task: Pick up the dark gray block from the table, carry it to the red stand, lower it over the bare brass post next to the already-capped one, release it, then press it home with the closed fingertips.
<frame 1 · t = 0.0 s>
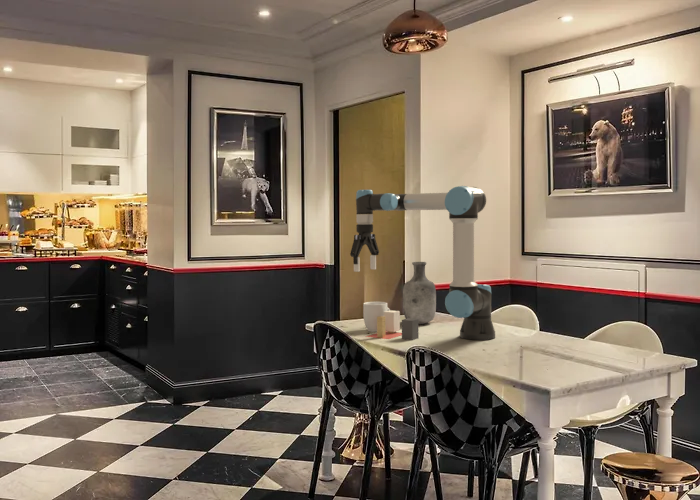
hand: (365, 270, 311), 28 cm above the table, fingers open, 13 cm apart
mug: (377, 331, 313), on the table
dark gray block: (410, 339, 291), on the table
post: (381, 337, 295), resting on stand
vase: (419, 323, 333), on the table
stand: (386, 335, 300), on the table
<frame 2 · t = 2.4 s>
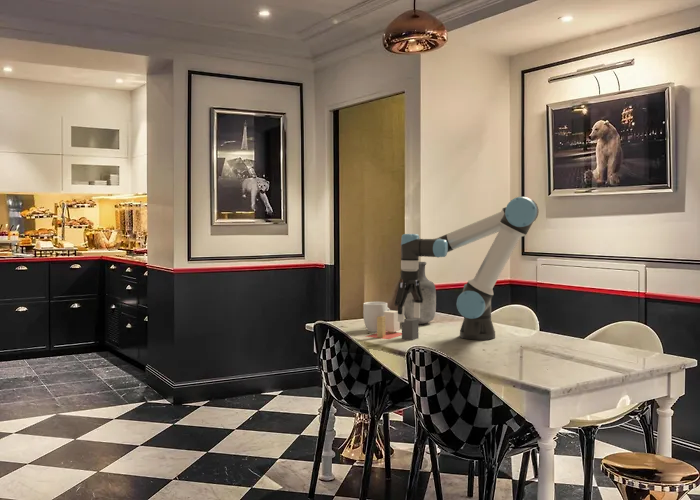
hand: (409, 319, 291), 8 cm above the table, fingers open, 13 cm apart
nothing on the table moved.
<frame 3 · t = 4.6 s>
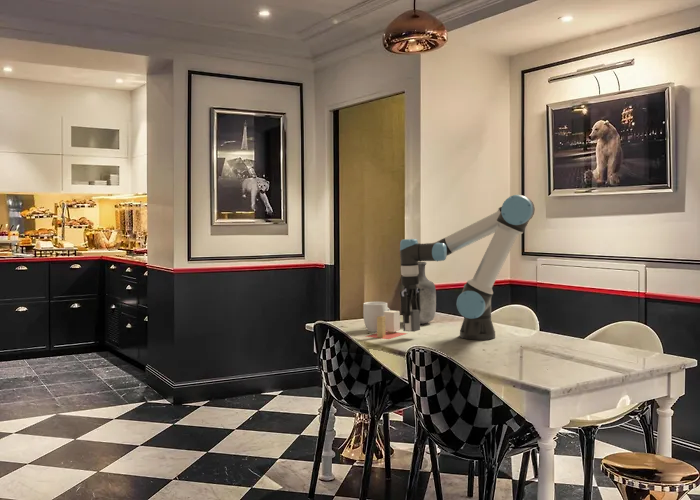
hand: (411, 329, 291), 4 cm above the table, fingers closed on dark gray block, 5 cm apart
dark gray block: (411, 330, 291), point 4 cm above the table, touching gripper
everything else where it was.
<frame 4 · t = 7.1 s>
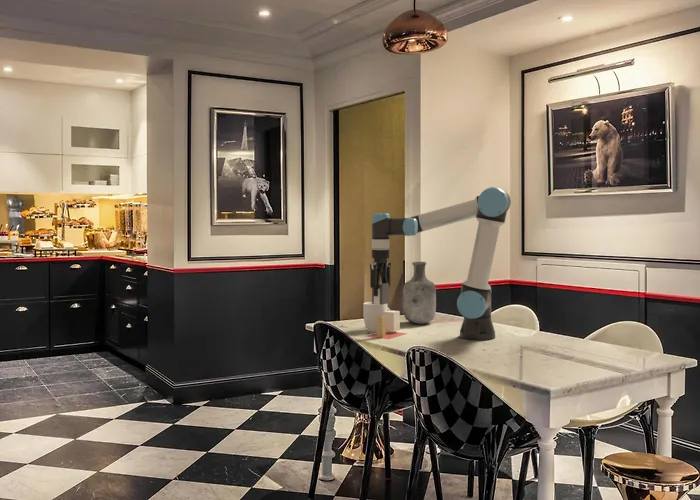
hand: (380, 302, 294), 15 cm above the table, fingers closed on dark gray block, 5 cm apart
dark gray block: (380, 303, 294), point 15 cm above the table, touching gripper
everything else where it was.
when the fingers open (3 cm above the table, at t = 9.6 s): dark gray block drops 2 cm, resting on post.
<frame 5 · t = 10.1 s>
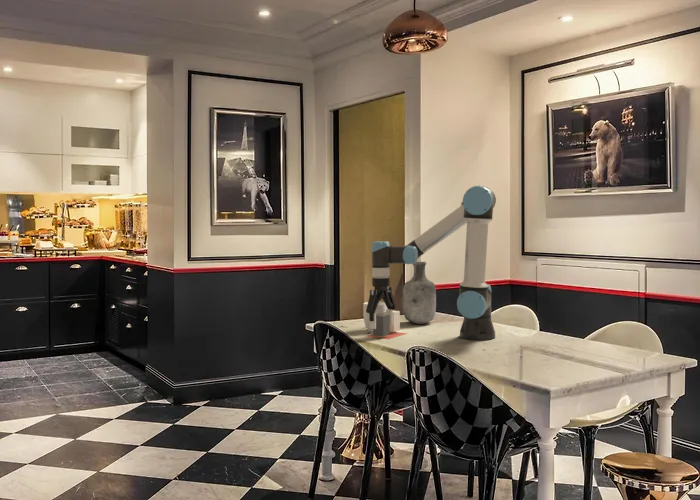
hand: (381, 326, 295), 5 cm above the table, fingers open, 13 cm apart
dark gray block: (381, 334, 295), point 1 cm above the table, touching post
everything else where it was.
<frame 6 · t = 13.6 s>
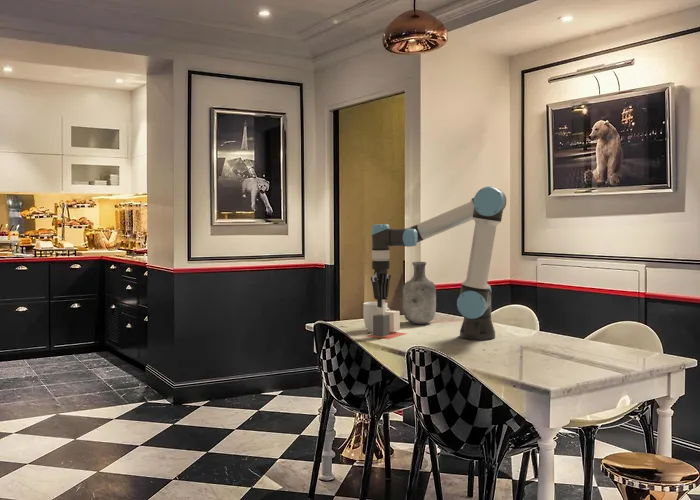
hand: (381, 314, 294), 10 cm above the table, fingers closed
nothing on the table moved.
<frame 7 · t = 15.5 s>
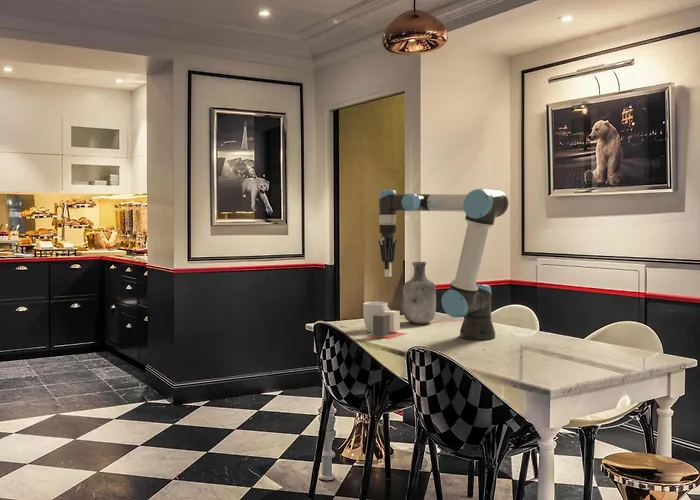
hand: (388, 276, 309), 25 cm above the table, fingers closed
nothing on the table moved.
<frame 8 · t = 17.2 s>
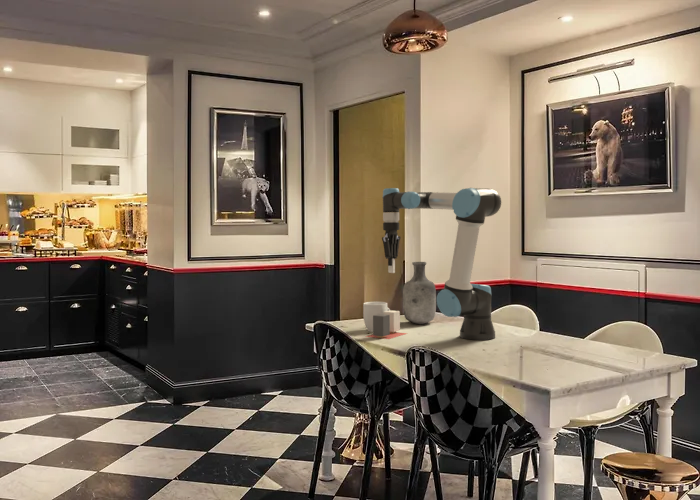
hand: (391, 272, 316), 26 cm above the table, fingers closed
nothing on the table moved.
at the end: dark gray block 0.1 cm from the post (horizontally); dark gray block point 1.4 cm above the table; the gripper is holding nothing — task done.
